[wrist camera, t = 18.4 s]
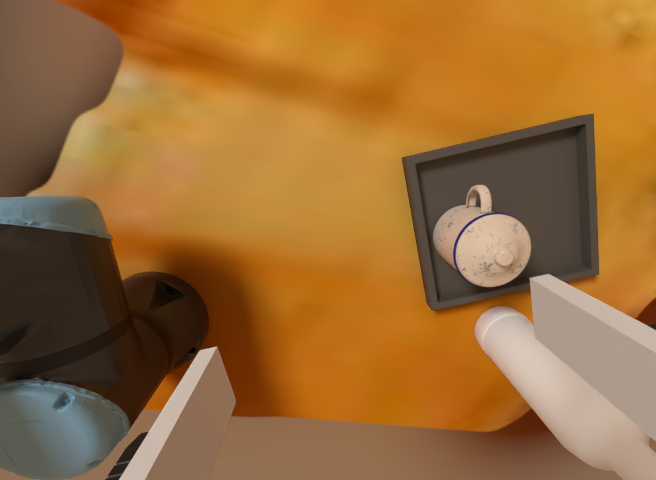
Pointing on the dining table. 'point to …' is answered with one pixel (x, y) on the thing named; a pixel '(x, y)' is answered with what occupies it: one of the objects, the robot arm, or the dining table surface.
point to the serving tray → (512, 203)
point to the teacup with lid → (482, 241)
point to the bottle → (564, 398)
